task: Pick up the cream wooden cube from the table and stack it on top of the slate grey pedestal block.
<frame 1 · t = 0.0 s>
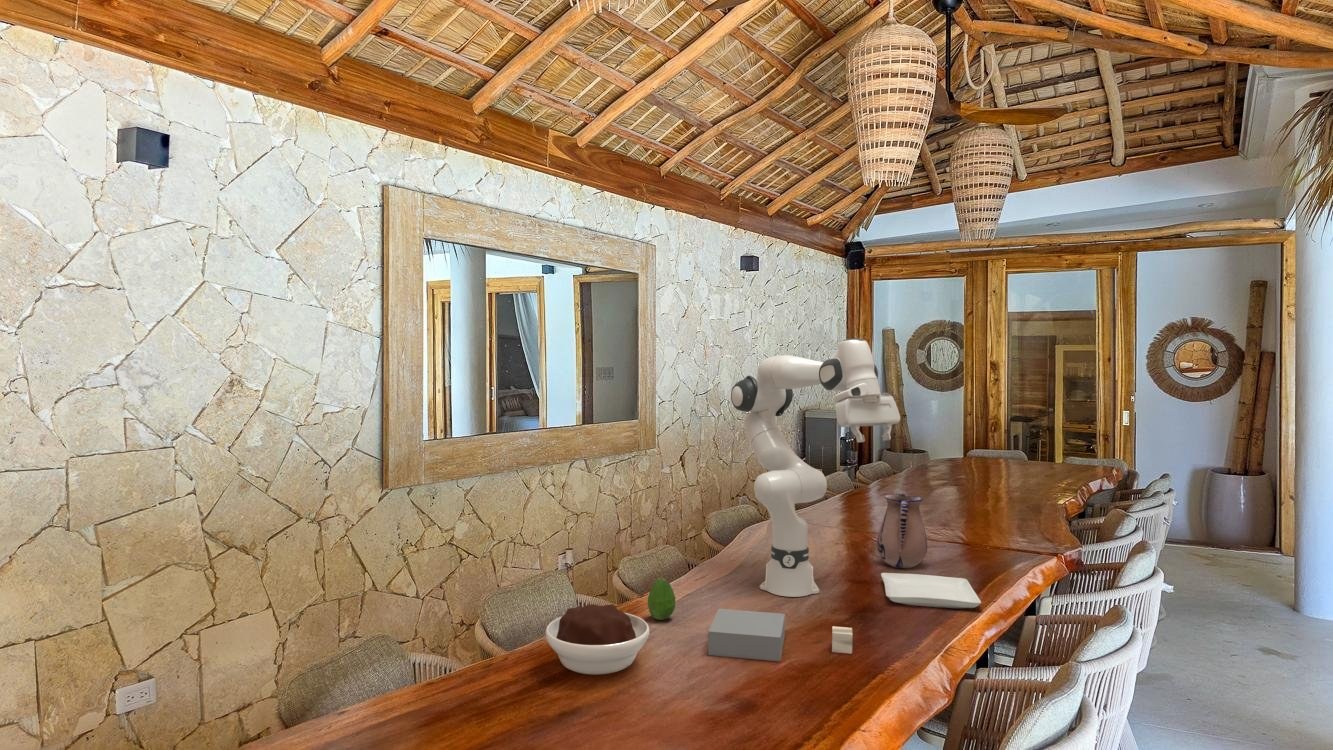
hand: (874, 441, 218), 52 cm above the table, fingers open, 8 cm apart
cream cube: (841, 649, 203), on the table
ceramic pitcher: (902, 567, 283), on the table
chocolate pudding bowl: (597, 666, 191), on the table
avocado: (661, 620, 224), on the table
pedestal: (747, 645, 205), on the table
square plate: (927, 598, 248), on the table
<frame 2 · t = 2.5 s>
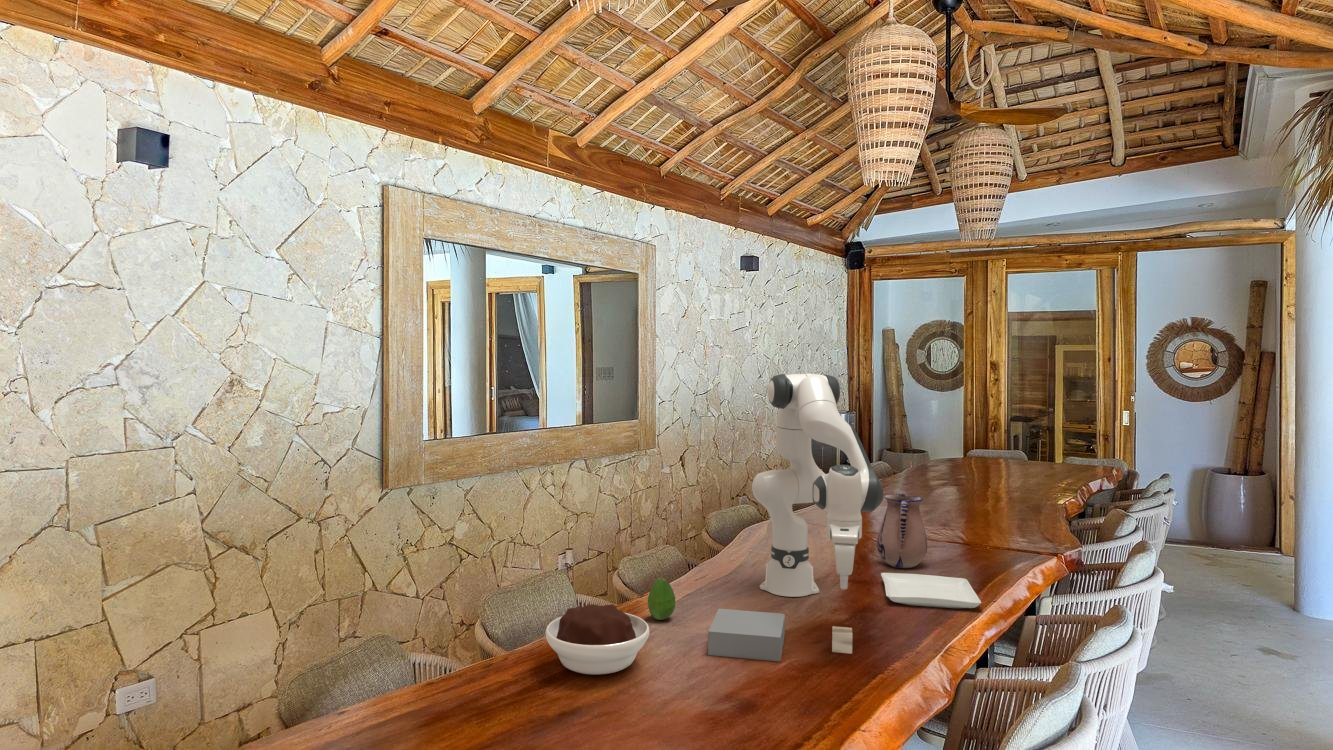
hand: (843, 583, 202), 17 cm above the table, fingers open, 8 cm apart
nothing on the table moved.
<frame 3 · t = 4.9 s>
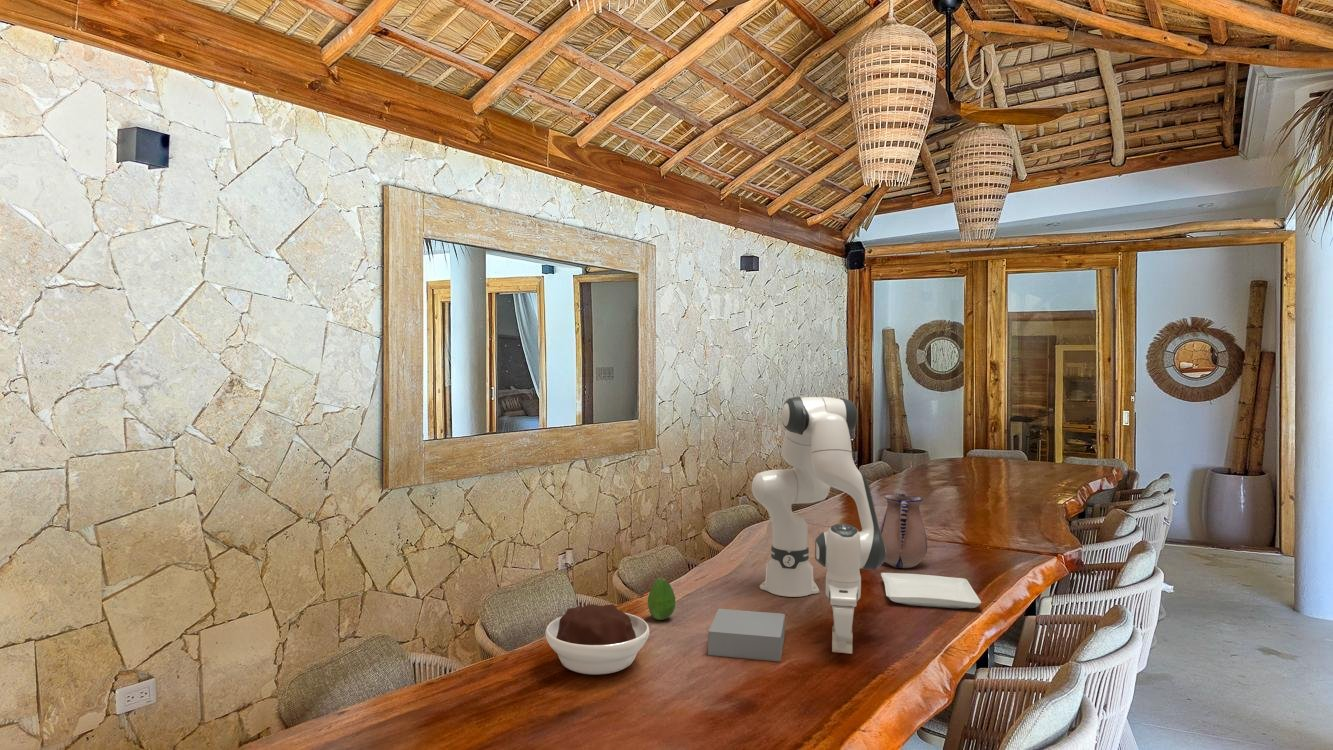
hand: (842, 642, 203), 2 cm above the table, fingers closed on cream cube, 5 cm apart
cream cube: (842, 649, 203), on the table, touching gripper
everything else where it was.
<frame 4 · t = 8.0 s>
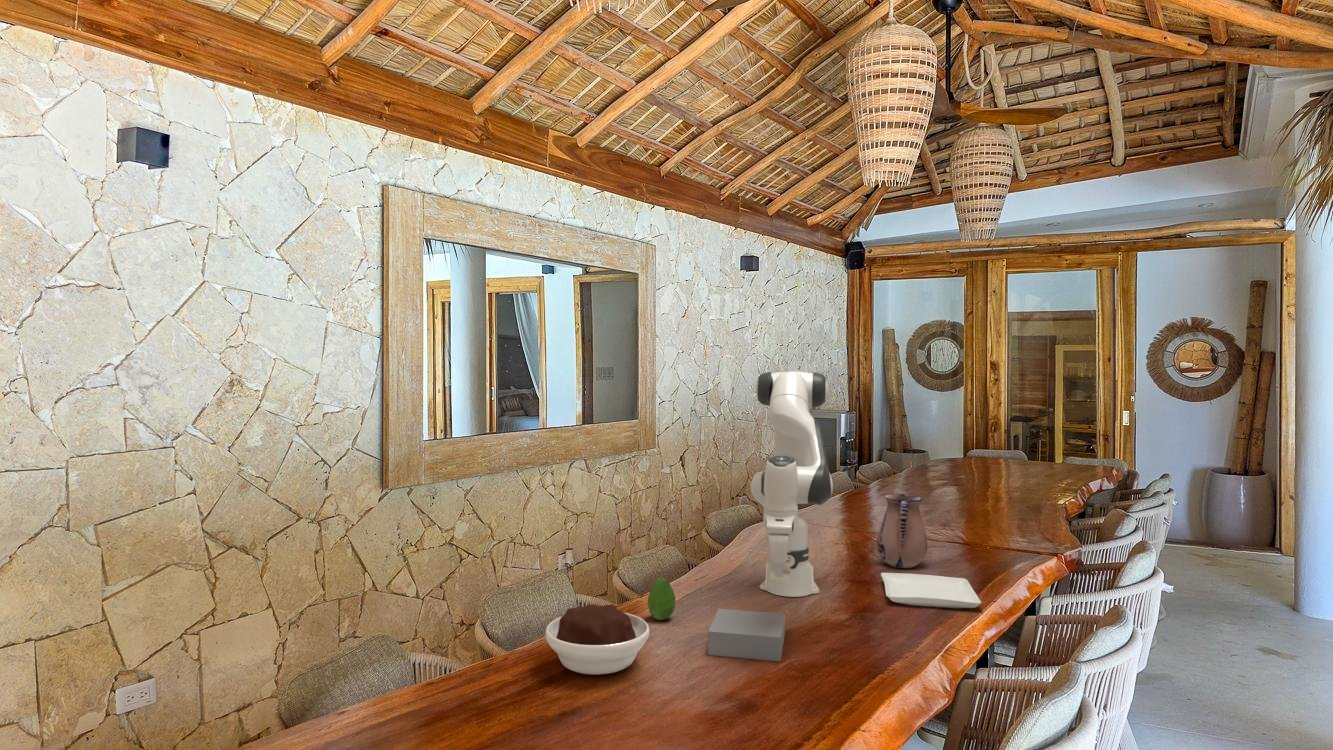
hand: (779, 573, 204), 19 cm above the table, fingers closed on cream cube, 5 cm apart
cream cube: (779, 579, 204), point 17 cm above the table, touching gripper
everything else where it was.
when the fingers open (9 cm above the table, at t = 11.3 s): cream cube drops 1 cm, resting on pedestal.
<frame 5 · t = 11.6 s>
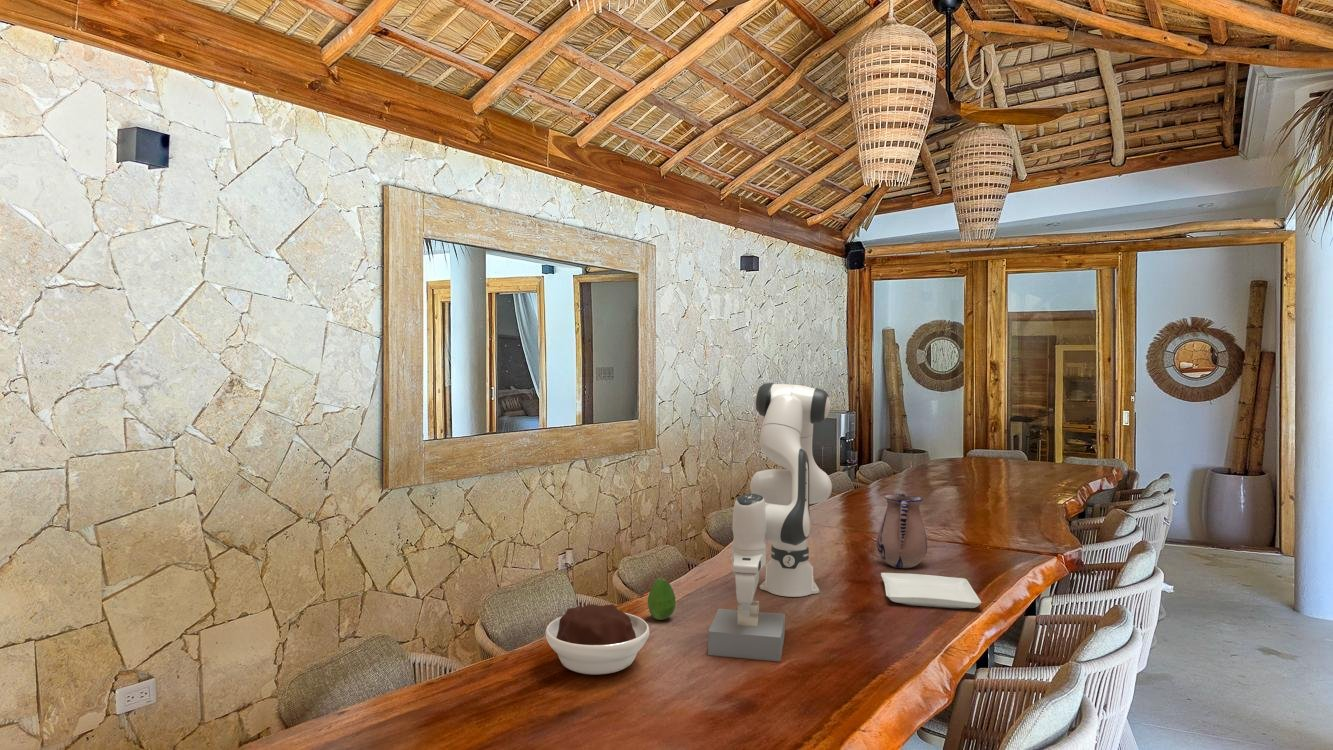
hand: (748, 610, 205), 9 cm above the table, fingers open, 8 cm apart
cream cube: (748, 622, 205), point 6 cm above the table, touching pedestal
everything else where it was.
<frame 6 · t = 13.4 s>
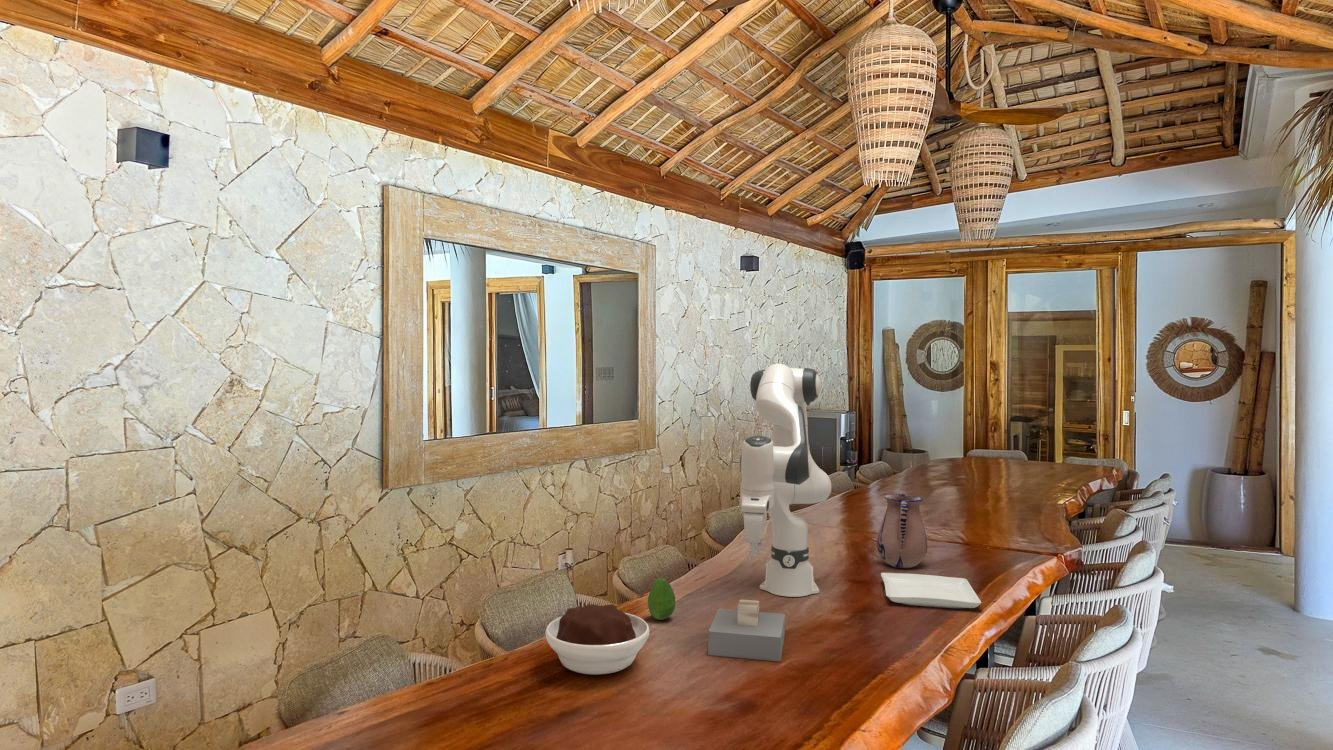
hand: (756, 550, 208), 24 cm above the table, fingers open, 8 cm apart
nothing on the table moved.
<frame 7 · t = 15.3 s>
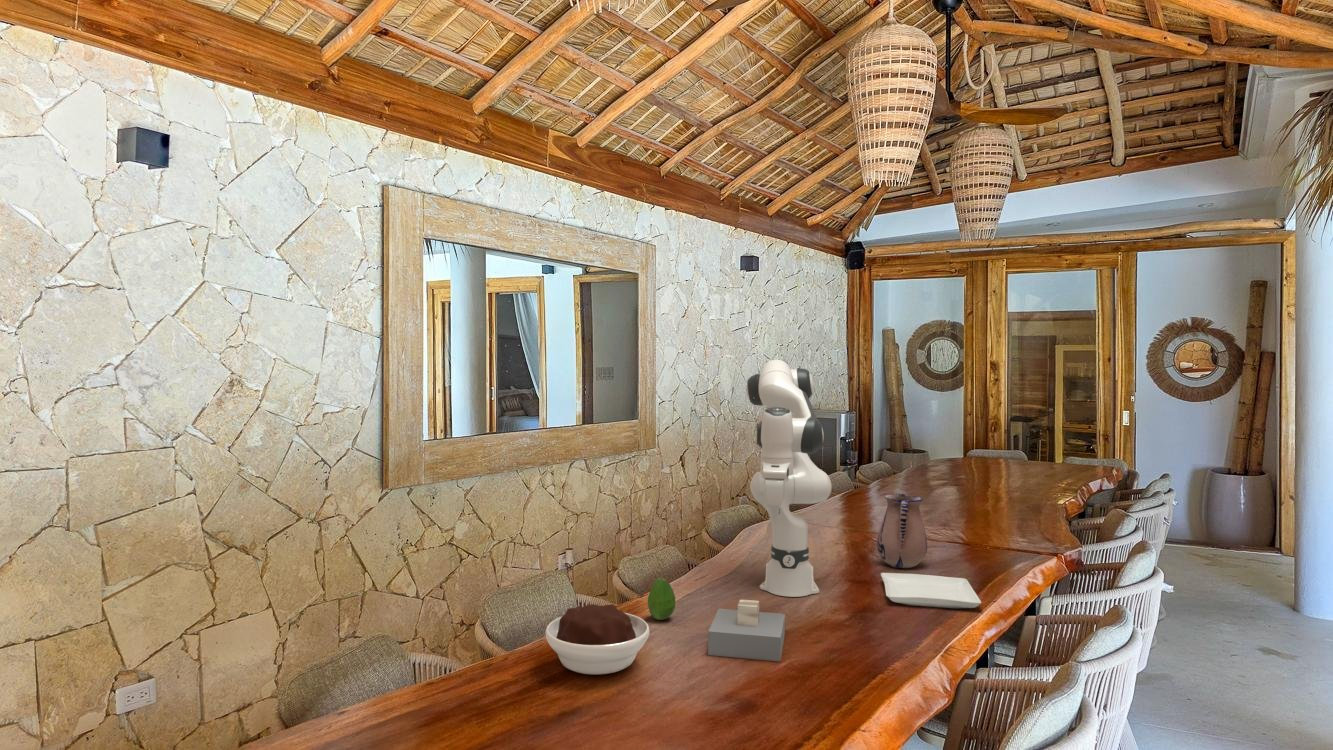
hand: (776, 518, 215), 31 cm above the table, fingers open, 8 cm apart
nothing on the table moved.
at the end: cream cube inside the target area on the pedestal (0.1 cm from its centre), point 6.0 cm above the pedestal's base; cream cube tilted 0°; the gripper is holding nothing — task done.
